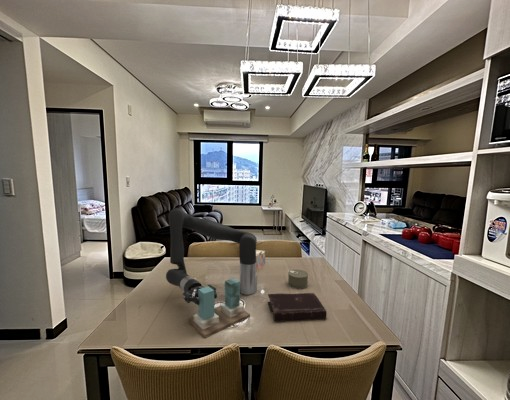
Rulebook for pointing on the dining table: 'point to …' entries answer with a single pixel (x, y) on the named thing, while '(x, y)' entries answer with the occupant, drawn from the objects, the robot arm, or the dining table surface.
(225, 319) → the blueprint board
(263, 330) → the dining table surface
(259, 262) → the stack of blocks
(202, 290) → the teal pillar
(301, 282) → the can
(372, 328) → the dining table surface
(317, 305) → the diary
